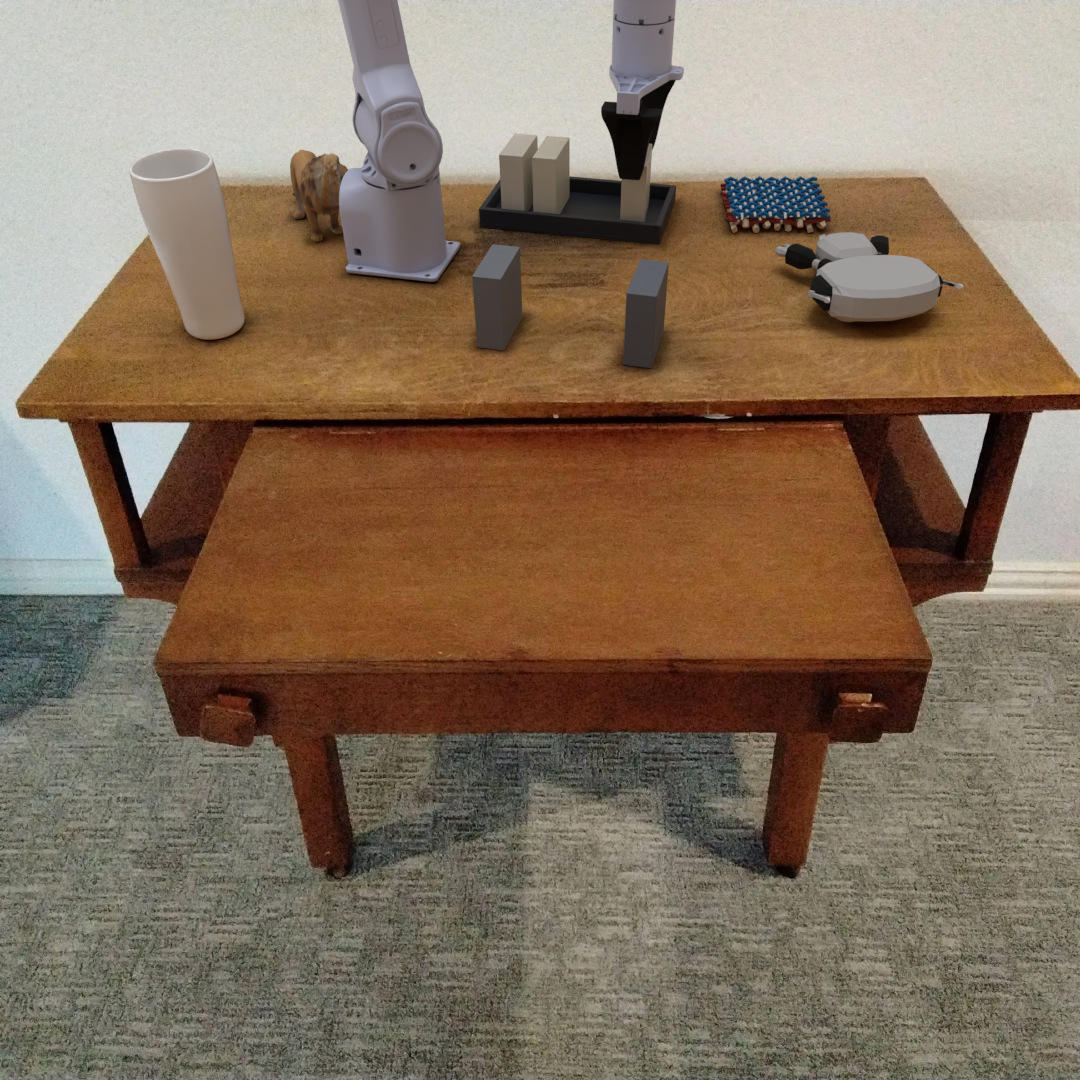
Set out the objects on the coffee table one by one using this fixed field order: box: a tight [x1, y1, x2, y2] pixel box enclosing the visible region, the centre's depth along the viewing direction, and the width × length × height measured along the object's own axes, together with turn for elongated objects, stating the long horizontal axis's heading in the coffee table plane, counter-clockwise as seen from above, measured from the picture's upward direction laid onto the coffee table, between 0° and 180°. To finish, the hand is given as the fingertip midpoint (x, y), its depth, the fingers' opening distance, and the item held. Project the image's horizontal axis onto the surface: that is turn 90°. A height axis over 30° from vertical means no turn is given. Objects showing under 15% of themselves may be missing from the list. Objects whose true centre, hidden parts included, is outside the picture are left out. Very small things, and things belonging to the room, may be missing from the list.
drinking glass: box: [128, 147, 246, 341], centre depth 83 cm, size 7×7×15 cm
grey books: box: [471, 243, 669, 369], centre depth 83 cm, size 16×6×7 cm, turn 75°
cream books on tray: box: [498, 132, 571, 214], centre depth 103 cm, size 6×6×6 cm
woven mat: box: [719, 175, 832, 234], centre depth 103 cm, size 10×11×2 cm
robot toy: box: [774, 231, 964, 323], centre depth 89 cm, size 12×4×15 cm
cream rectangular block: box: [620, 144, 653, 222], centre depth 101 cm, size 2×6×6 cm, turn 170°
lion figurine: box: [289, 149, 349, 243], centre depth 101 cm, size 15×5×9 cm, turn 33°
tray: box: [478, 176, 677, 245], centre depth 104 cm, size 19×10×2 cm, turn 75°
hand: (636, 163), depth 99 cm, fingers open, 7 cm apart
